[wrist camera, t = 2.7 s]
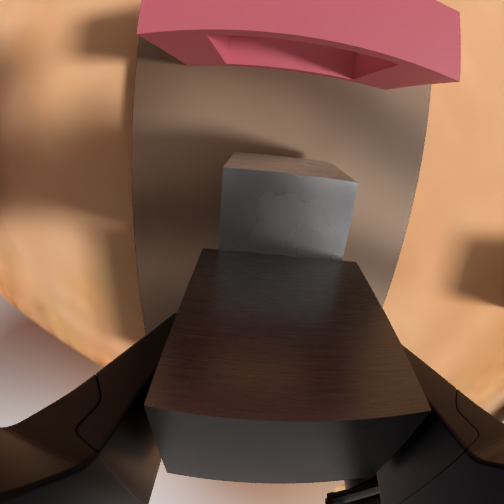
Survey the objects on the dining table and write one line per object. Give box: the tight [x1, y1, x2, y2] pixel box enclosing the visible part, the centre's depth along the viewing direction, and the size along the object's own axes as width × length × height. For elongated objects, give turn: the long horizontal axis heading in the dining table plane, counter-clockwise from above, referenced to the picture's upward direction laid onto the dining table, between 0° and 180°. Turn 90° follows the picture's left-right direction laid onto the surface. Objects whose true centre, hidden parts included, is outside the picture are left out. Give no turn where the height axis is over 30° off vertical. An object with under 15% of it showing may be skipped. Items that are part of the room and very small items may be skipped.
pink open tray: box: [136, 0, 461, 90], centre depth 8 cm, size 2×9×6 cm, turn 85°
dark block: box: [144, 152, 431, 483], centre depth 11 cm, size 14×5×10 cm, turn 175°
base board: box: [132, 37, 431, 335], centre depth 15 cm, size 22×14×1 cm, turn 175°
